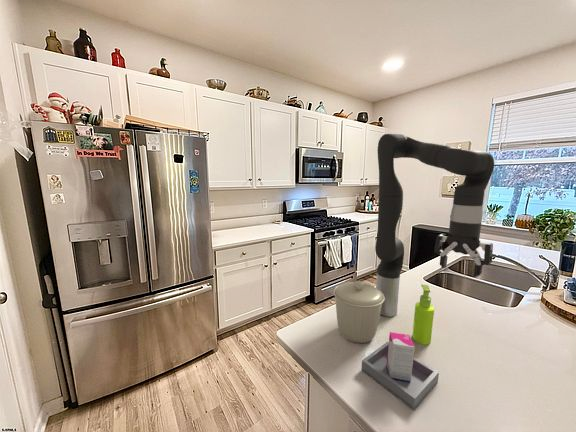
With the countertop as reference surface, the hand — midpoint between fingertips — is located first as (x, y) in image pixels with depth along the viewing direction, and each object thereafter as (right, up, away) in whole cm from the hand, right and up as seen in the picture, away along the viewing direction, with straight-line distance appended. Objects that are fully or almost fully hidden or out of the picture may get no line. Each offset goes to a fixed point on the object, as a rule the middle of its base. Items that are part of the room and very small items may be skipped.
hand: (459, 271), depth 74 cm
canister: (-27, -28, +17) cm, 42 cm away
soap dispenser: (-4, -28, +15) cm, 32 cm away
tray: (-20, -31, -2) cm, 37 cm away
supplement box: (-20, -30, -2) cm, 36 cm away
